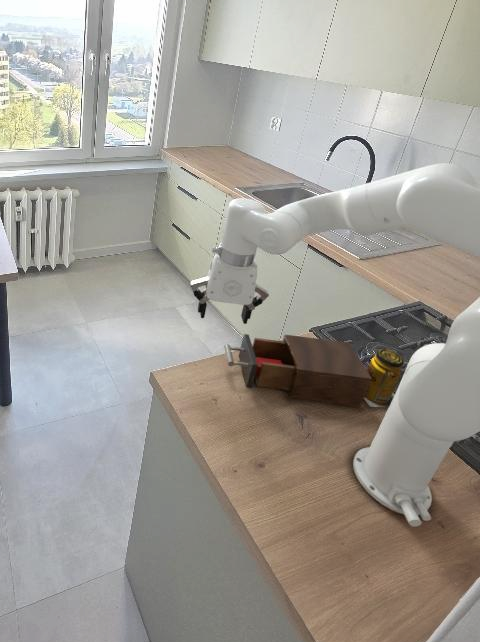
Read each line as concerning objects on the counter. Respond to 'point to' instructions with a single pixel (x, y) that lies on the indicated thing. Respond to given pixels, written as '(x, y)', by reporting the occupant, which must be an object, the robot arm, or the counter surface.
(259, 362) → the red rectangular block
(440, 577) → the counter surface
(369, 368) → the condiment
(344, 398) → the cabinet
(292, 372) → the drawer
